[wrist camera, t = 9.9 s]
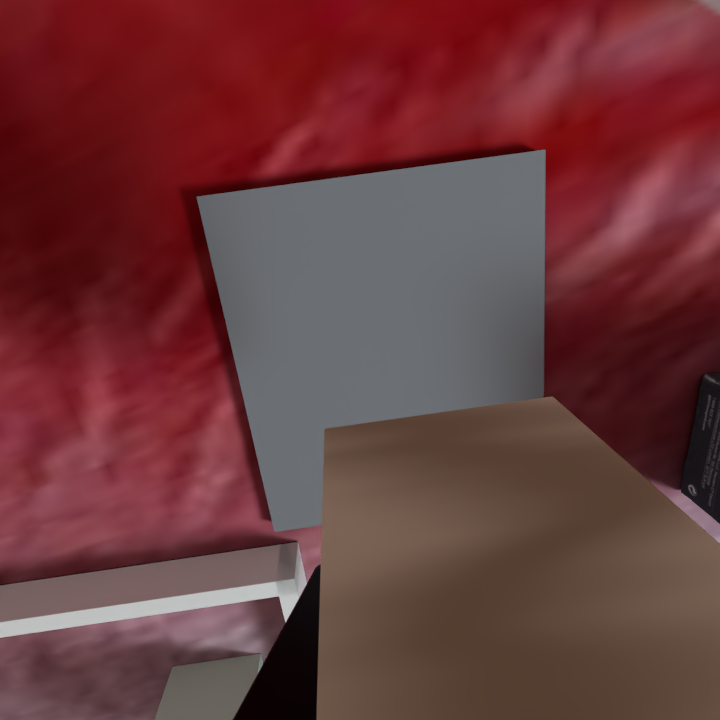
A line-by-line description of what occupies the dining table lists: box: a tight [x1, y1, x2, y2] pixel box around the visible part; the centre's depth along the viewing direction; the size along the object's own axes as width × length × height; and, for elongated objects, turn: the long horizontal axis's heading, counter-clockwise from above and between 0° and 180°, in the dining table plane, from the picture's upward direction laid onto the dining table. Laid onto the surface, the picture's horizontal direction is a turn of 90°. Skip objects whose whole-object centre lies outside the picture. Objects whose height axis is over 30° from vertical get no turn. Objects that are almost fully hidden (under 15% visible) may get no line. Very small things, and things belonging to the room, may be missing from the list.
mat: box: [197, 150, 545, 532], centre depth 18 cm, size 14×12×1 cm
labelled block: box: [316, 396, 720, 720], centre depth 6 cm, size 4×5×7 cm
